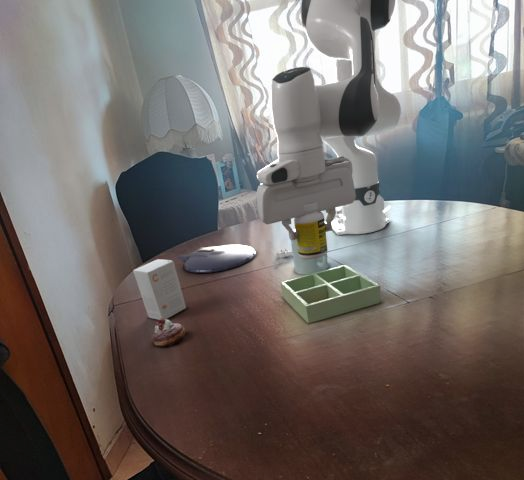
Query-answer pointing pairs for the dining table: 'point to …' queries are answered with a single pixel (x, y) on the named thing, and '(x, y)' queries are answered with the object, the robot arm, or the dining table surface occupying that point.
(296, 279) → the divided tray
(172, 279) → the small box
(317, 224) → the pill bottle
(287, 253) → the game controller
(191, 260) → the toy spaceship
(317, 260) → the mug
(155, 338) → the pastry
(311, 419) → the dining table surface
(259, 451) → the dining table surface
